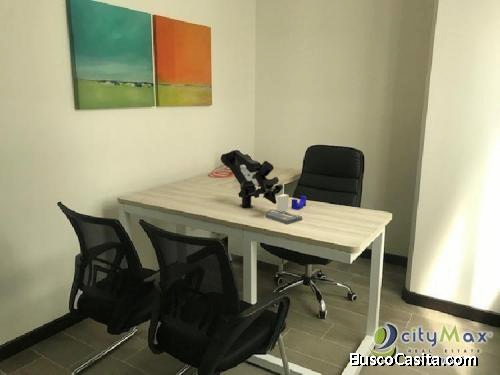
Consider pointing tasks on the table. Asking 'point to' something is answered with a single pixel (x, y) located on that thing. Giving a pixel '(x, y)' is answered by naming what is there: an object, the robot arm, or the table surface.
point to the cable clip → (298, 205)
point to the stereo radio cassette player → (248, 174)
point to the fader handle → (282, 203)
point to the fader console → (283, 217)
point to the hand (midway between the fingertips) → (275, 203)
